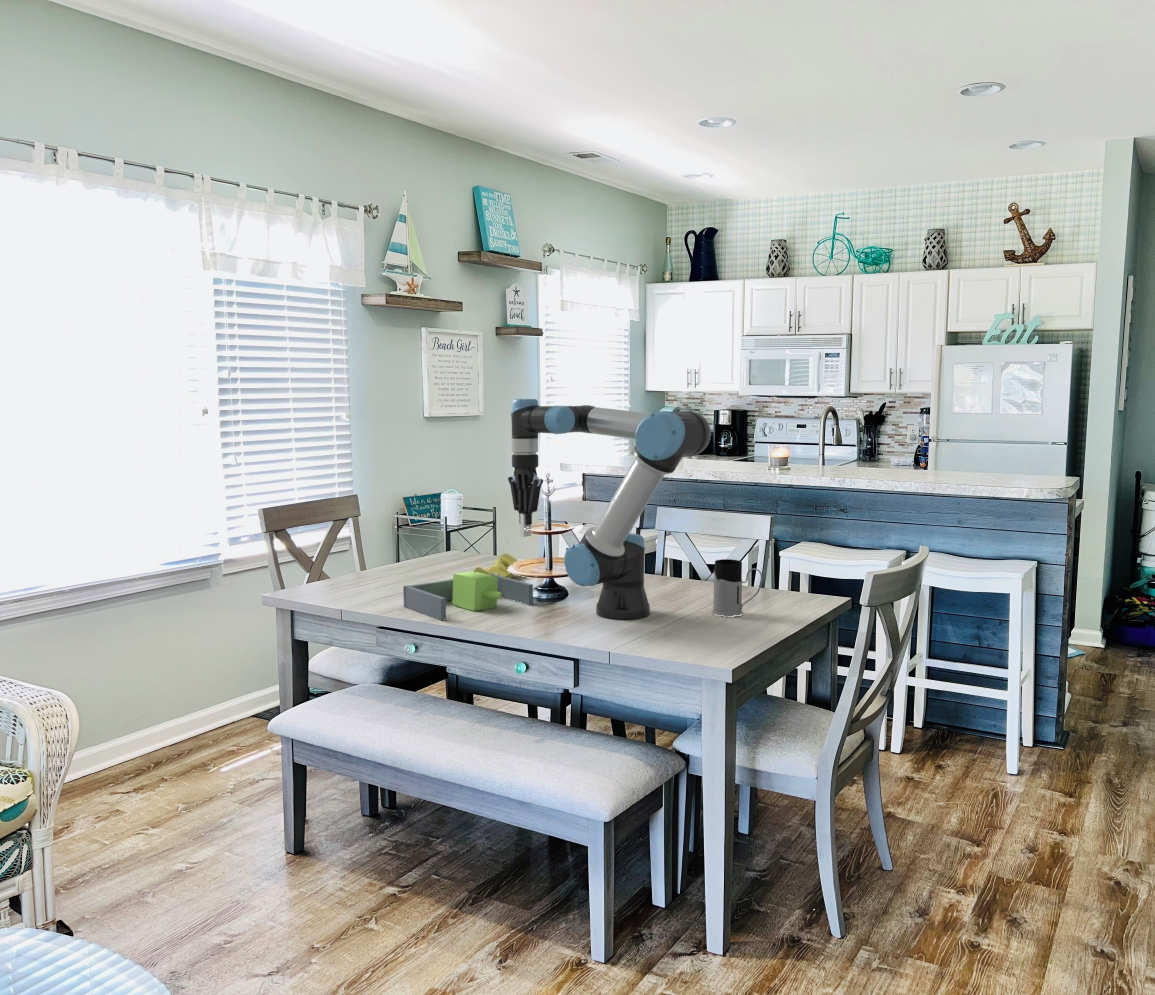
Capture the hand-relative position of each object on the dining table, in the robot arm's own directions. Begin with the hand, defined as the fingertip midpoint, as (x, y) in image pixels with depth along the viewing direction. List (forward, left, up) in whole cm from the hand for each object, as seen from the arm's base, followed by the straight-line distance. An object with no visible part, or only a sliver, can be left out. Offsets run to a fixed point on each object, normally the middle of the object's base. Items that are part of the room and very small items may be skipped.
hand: (525, 536), depth 268 cm
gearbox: (+11, +9, -21) cm, 26 cm away
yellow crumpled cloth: (+40, -17, -22) cm, 48 cm away
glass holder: (-43, -42, -21) cm, 64 cm away
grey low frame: (+13, +11, -21) cm, 27 cm away
